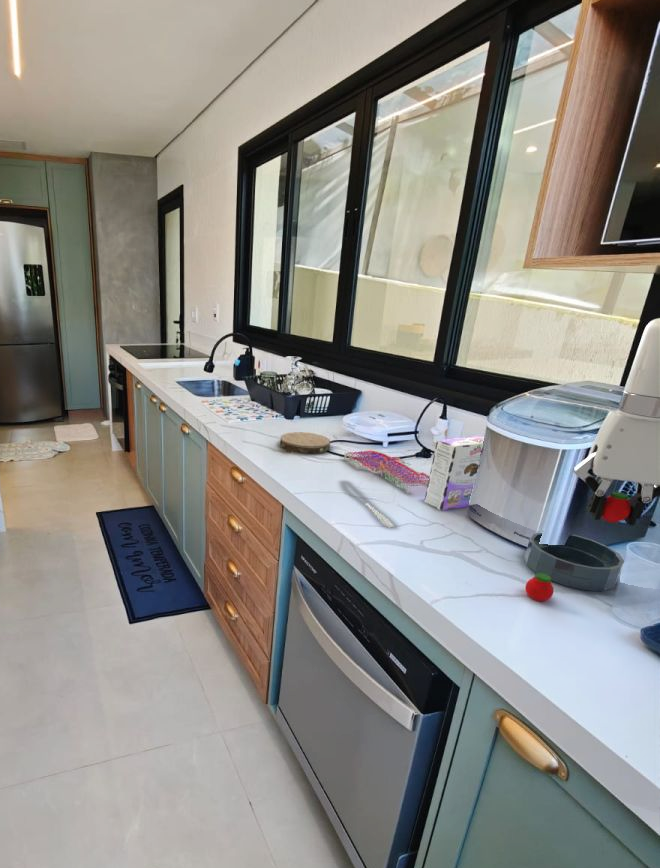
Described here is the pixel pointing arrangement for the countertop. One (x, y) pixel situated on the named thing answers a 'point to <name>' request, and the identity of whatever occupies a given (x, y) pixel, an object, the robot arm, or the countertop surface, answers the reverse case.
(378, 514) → the butter knife
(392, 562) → the countertop surface
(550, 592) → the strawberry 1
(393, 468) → the speckled fish figure
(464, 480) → the candy box
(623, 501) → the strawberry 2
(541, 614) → the countertop surface
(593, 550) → the bowl
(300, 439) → the wooden disc
